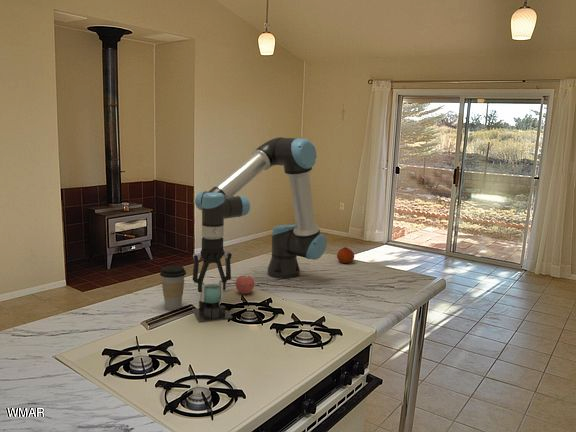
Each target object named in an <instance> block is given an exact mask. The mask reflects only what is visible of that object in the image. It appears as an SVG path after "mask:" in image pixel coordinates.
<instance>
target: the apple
mask: <svg viewBox="0 0 576 432" xmlns="http://www.w3.org/2000/svg"><path fill="white" fill-rule="evenodd" d="M235 288H236V289H237V291H238V292H239V293H240V294H244V295H246V294H249V293H251V292H252V291H253V290H254V288H255V280H254V278H253V277H251V276H250V275H246V274H245V275H241V276H238V277H237V279H236V281H235Z"/></svg>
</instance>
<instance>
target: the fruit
mask: <svg viewBox="0 0 576 432" xmlns="http://www.w3.org/2000/svg"><path fill="white" fill-rule="evenodd" d="M336 258H337V261H339V262H340V263H341V264H350V263H351V262H353V261H354V259H355V253H354V251H352V249H350V248H348V247H342V248H339V250H338V252H337V254H336Z"/></svg>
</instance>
